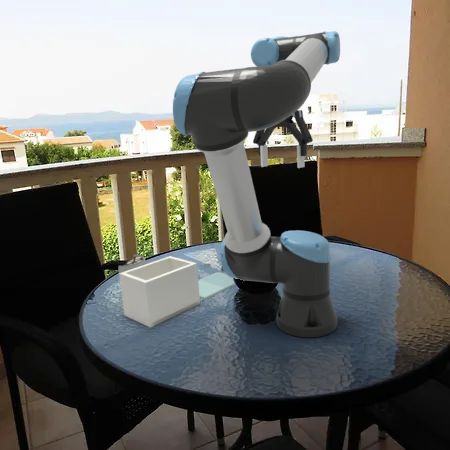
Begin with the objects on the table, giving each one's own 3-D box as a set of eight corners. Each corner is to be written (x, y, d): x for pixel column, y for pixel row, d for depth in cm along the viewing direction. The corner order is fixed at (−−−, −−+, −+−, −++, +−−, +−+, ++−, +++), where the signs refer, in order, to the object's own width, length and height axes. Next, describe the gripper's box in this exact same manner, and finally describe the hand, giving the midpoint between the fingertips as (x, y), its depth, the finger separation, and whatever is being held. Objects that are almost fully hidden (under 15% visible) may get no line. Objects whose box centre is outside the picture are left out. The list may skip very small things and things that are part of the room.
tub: (200, 303, 120) (196, 263, 117) (150, 327, 108) (145, 282, 105) (173, 294, 128) (170, 256, 125) (124, 315, 116) (119, 273, 113)
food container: (139, 297, 128) (136, 266, 125) (121, 296, 129) (117, 266, 127) (154, 282, 139) (151, 254, 137) (137, 281, 141) (134, 254, 138)
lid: (255, 275, 140) (254, 256, 138) (205, 300, 123) (203, 278, 121) (229, 268, 148) (228, 250, 146) (178, 290, 131) (176, 270, 129)
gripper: (324, 90, 116) (324, 166, 121) (255, 98, 132) (258, 164, 137) (310, 90, 110) (310, 169, 115) (240, 98, 127) (243, 167, 132)
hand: (282, 167), depth 126 cm, fingers open, 13 cm apart
